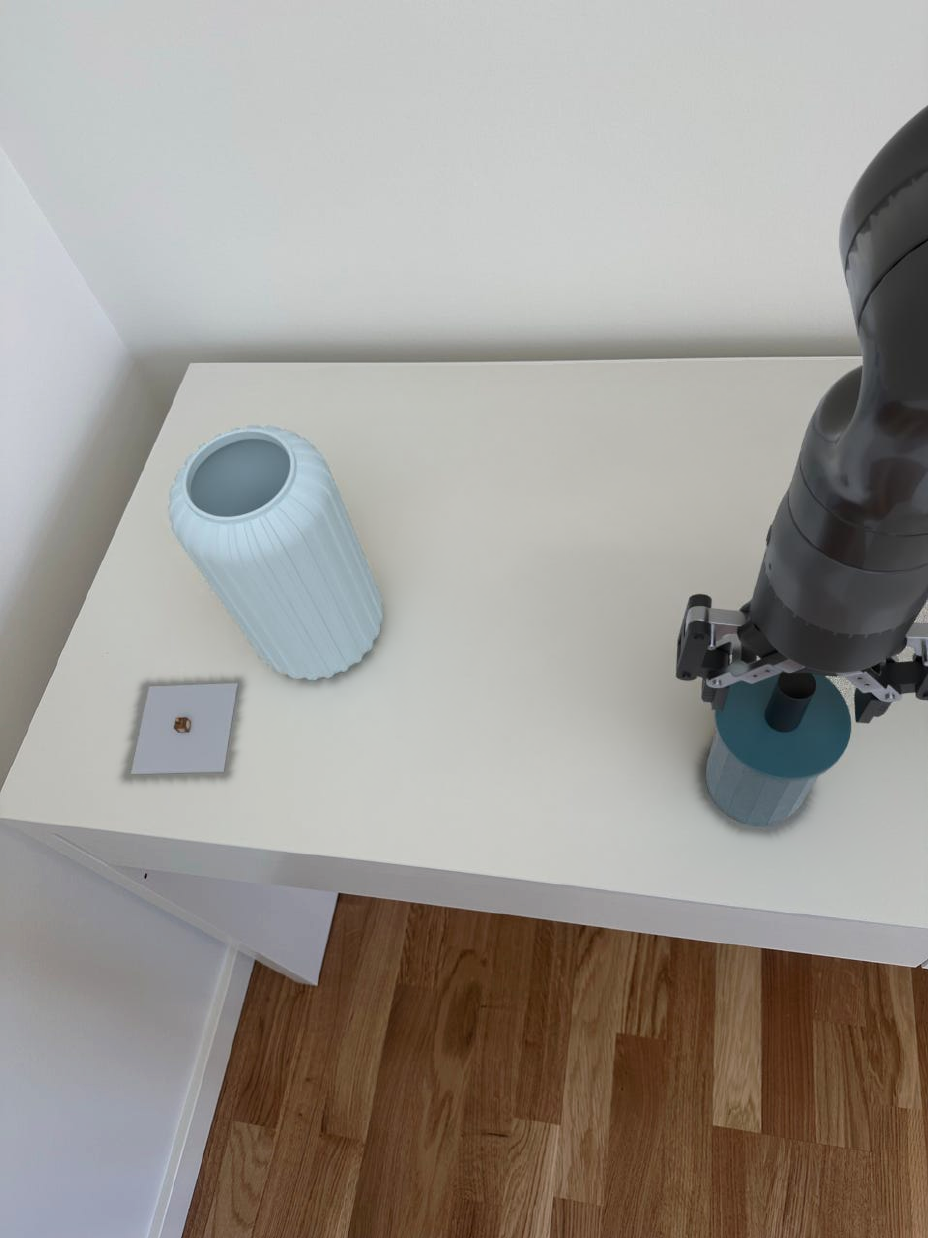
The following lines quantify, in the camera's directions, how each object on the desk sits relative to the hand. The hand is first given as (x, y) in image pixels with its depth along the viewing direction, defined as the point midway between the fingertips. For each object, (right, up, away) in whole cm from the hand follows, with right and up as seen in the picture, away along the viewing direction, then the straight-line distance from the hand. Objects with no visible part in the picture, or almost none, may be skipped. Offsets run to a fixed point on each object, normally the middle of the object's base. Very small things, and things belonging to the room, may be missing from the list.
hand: (788, 703), depth 57 cm
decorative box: (-44, -4, +20) cm, 48 cm away
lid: (0, -1, +2) cm, 2 cm away
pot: (+2, -7, +12) cm, 14 cm away
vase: (-32, +4, +23) cm, 40 cm away
